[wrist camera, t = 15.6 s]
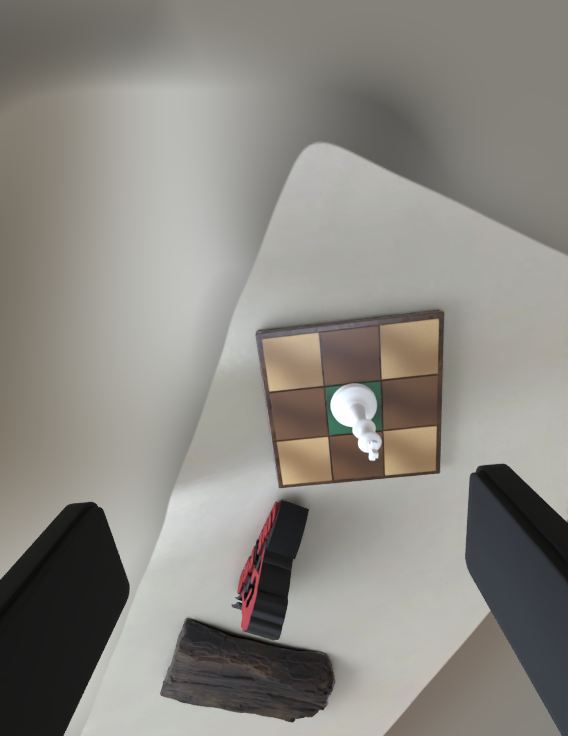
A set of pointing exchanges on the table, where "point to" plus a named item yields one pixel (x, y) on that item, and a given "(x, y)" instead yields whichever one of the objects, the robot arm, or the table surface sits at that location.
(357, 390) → the chess piece
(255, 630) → the logo sign
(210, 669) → the dark tree bark
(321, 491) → the table surface
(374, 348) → the board
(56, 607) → the robot arm
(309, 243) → the table surface
